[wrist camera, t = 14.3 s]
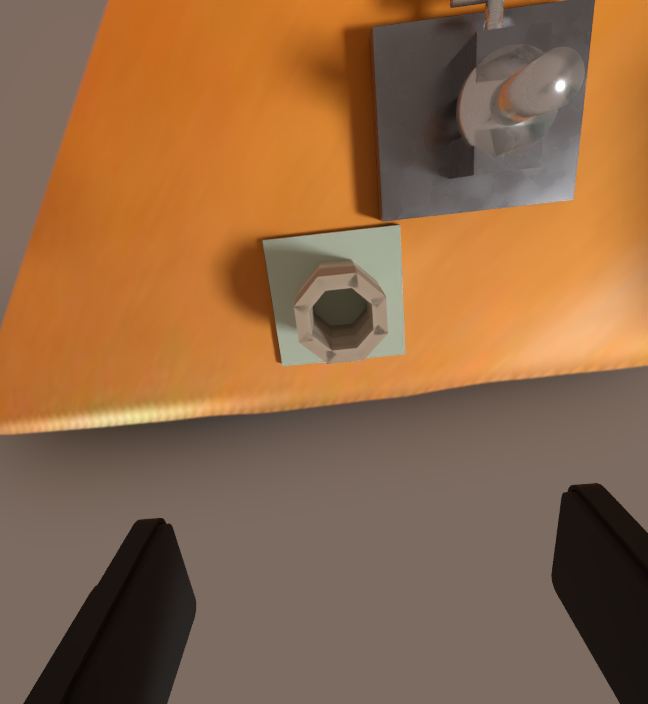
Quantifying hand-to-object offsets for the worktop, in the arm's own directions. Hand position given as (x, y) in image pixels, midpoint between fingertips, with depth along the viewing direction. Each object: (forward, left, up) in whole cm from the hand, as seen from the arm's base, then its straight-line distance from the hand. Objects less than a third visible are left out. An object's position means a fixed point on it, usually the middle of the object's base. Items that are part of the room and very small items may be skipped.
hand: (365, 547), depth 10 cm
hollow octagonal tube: (0, 0, -26) cm, 26 cm away
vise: (-11, -12, -26) cm, 31 cm away
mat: (0, 0, -26) cm, 26 cm away
